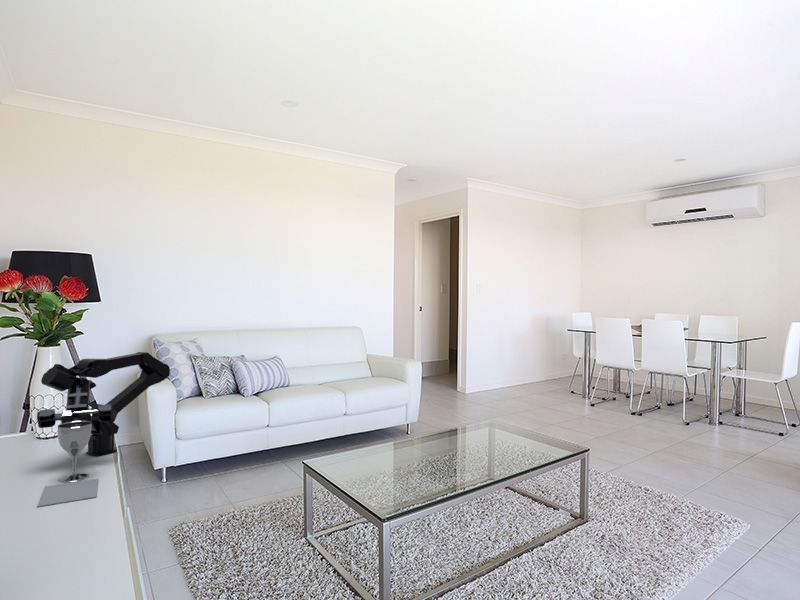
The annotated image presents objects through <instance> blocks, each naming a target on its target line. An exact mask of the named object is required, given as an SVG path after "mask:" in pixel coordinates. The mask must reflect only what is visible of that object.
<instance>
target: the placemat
mask: <svg viewBox="0 0 800 600" xmlns="http://www.w3.org/2000/svg"><path fill="white" fill-rule="evenodd" d="M98 485H99V478H95V479H93V478H92V479H87V480H86V479H84V480H80V481H75V482H64V483H59V484H53V485H47V486H46V485H45V486H44V487H43V491H42V493H41V496H40V498H39V501H38V503H37V505H36V508H41V507H48V506H54V505H59V504H66V503H71V502H78V501H83V500H84V501H85V500H90V499H91V500H92V499H95V498H97V494H98V487H99V486H98Z"/></svg>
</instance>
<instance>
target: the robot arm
mask: <svg viewBox="0 0 800 600" xmlns="http://www.w3.org/2000/svg"><path fill="white" fill-rule="evenodd" d="M137 365H138V367H139V369H140V370H141V373H140V375H139V377H138V378H136V380H134V381H133V382H132V383H130V384H129V385H128V386H126V387H125V388H124V389H123V390H122V391H121V392H119V393H118V394H117V395H115V396H114V397H113V398H112V399H110V400H109V401H108V402H107V403H105V404H101V403H96V404H93V406H92V407H91V408H90V395H91V394H90V393H91V390H92V389H94V388H95V387H97V384H96V383H95V382H93V381H92V379H93V378H94V379H96V378H100V377H102V376H105V375H107V374H108V373H110V372H112V371H114V370H119V369H125V368H128V367H133V366H137ZM170 374H171V369H170V365H168V364H167V363H164V362H163V361H161V360H159V359H158V358H156V357H154V356H153V355H151V354H150V353H149V352H146V351H145V352H144V351H138V352H137V351H136V352H134V353H129V354H124V355H120V356H119V355H117V356H114V357H113V356H112V357H108V358H82V359H80V360H79V361H78V362H77V364H75V365H73V366H72V367H71V366H70V367H69V368H67V367H65V366H64V365H62V364H60V363H59V364H58V363H55V364H54V365H53V366H52V367H50V368H49V369H48V370H47V371H46V372H44V374H43V375H42V377H41V381H40V382H41V384H42V385H44V386H45V387H48V388H51V389H54V390H55V391H59V392H65V391H67V396H66V404H65V405H66V408H65V410H63V411H61V413H60V412H59V413H56V410H55V408H52V409H49V408H48V409H40V410H39V411H37V415H36V419H37V420H36V421H37V428H40V429H43V428H45V429H48V428H52V427H54V426H55V425H56V422H59V421H60V424H62V423H66V422H72V421H91V422H92V431H91V436H90V440H89V442H88V444H87V451H86V452H85V454H86V455H90V456H91V455H92V456H96V457H99V456H103V455H108V454H111V453H114V452H118V449H117V448H115V435H116V434H118V432H119V429H120V426H119V425H118V424H116V423H115V421H116V418H117V415H118V414H119V413H121V411H122V410H124V409H125V408H126V407H127V406H128V405H130V404H131V403H132V402H133V401H135V399H137V398H138V397H139V396H140V395H142V394H143V393H144V392H145V391H146V390H147V389H149V388H150V387H151V386H154V385H156V384H159V383H162V382H163V381H165V380H167V379H168V378H169V377H170ZM87 378H92V379H87Z"/></svg>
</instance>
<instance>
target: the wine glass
mask: <svg viewBox="0 0 800 600" xmlns="http://www.w3.org/2000/svg"><path fill="white" fill-rule="evenodd" d="M91 431H92V422H91V421H72V422H66V423H62V424H61V423H60V424H58V425H57V439H58V443H59V446H60V448H62V449H63V450H64V451H65V452H67V453H68V455H69V456H70V458H71V463H72V471H71V473H70V474H66V475H64V476H62V477H60V478H58V482H60V483H72V482H79V481H84V480H86V479H87V478H88V477H90V474H89V473H86V472H77V460H78V457H79V455H80V453H81V452H82V451H83V450H84V449H85V447H86V446H88V442H89V440H90V436H91V435H92V434H91ZM67 453H66V454H67Z"/></svg>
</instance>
